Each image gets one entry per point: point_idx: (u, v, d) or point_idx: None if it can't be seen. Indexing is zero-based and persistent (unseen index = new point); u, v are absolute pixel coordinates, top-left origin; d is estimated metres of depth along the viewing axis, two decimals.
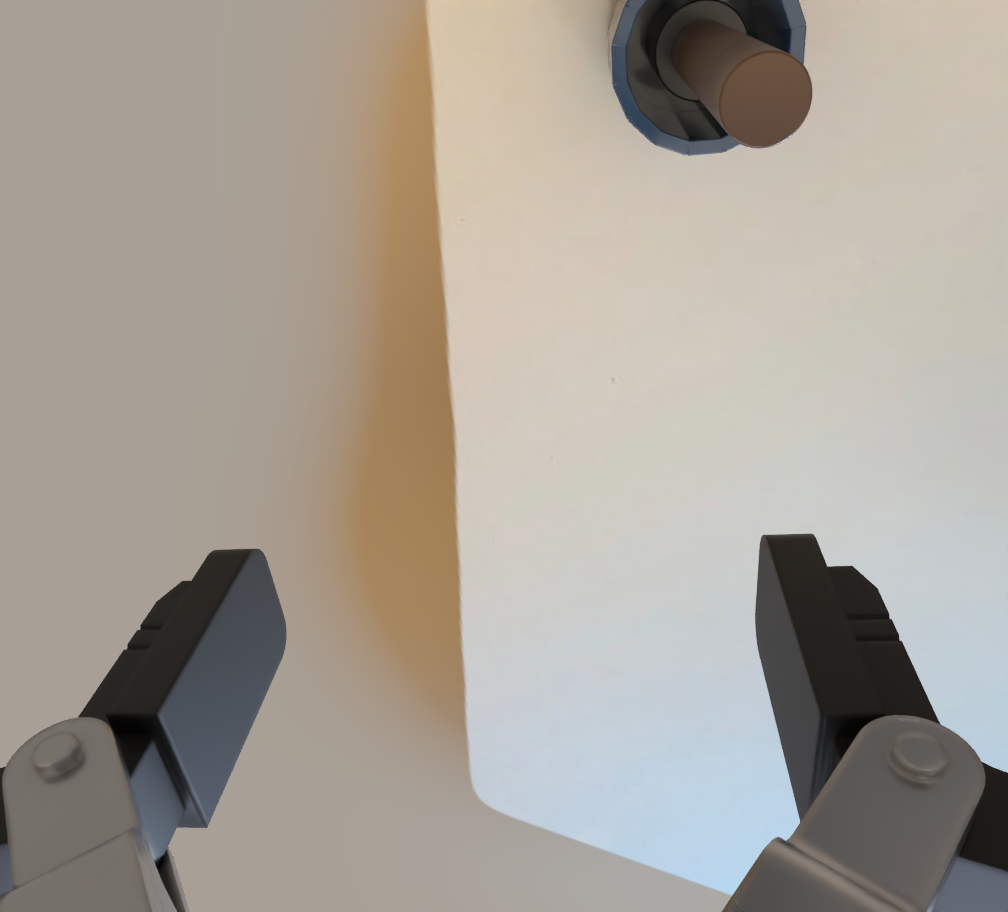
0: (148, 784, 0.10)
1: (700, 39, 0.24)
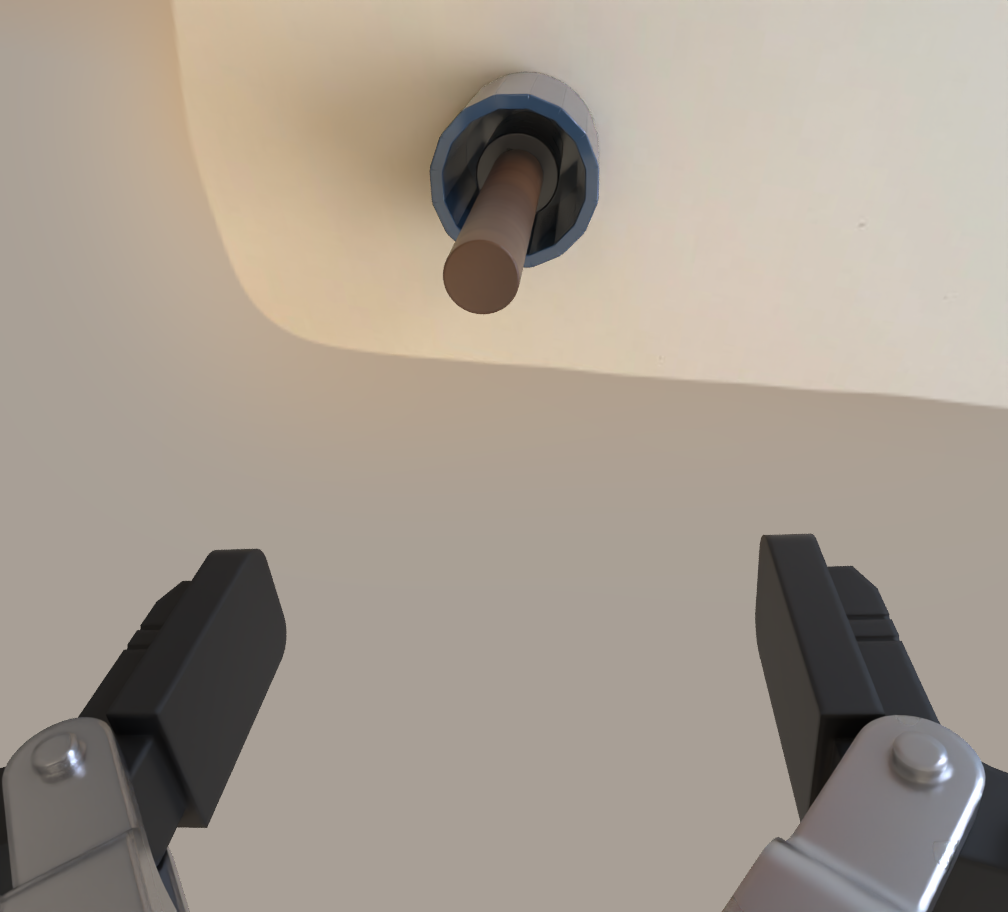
0: (148, 784, 0.10)
1: None
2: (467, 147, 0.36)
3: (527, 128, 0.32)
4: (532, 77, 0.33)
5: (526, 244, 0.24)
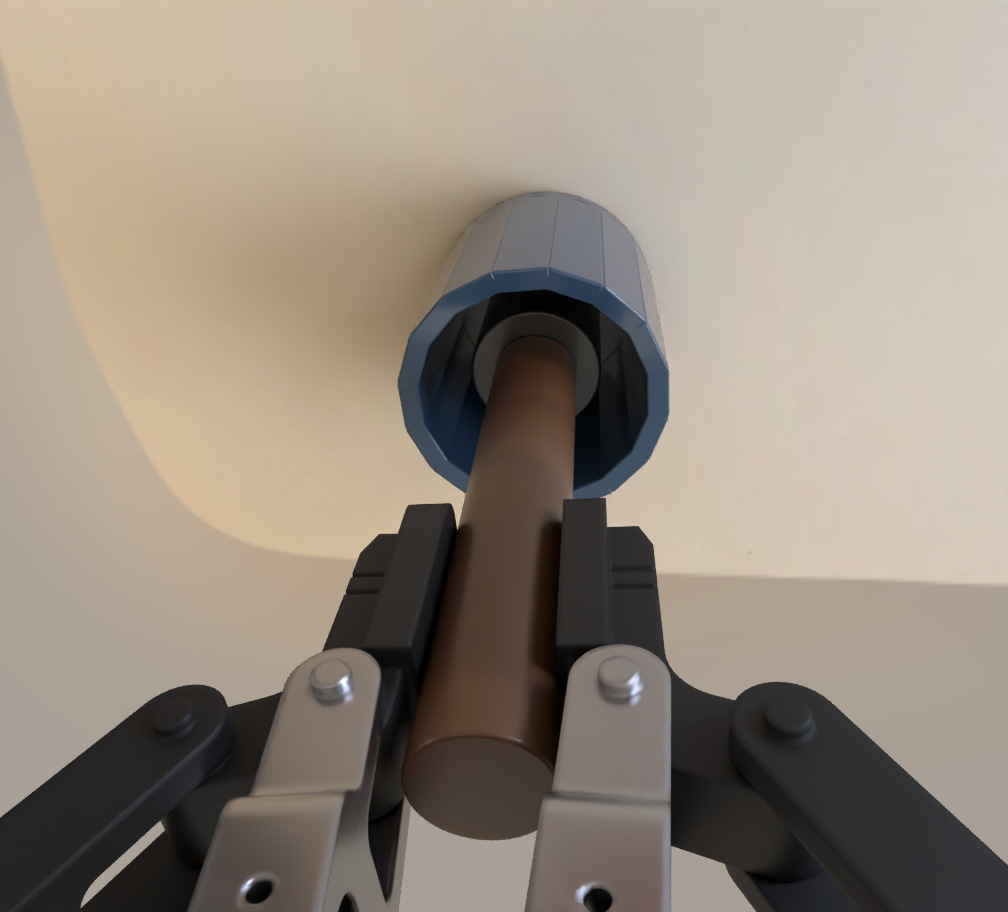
0: (401, 714, 0.11)
1: None
2: None
3: (547, 296, 0.20)
4: (549, 209, 0.22)
5: None
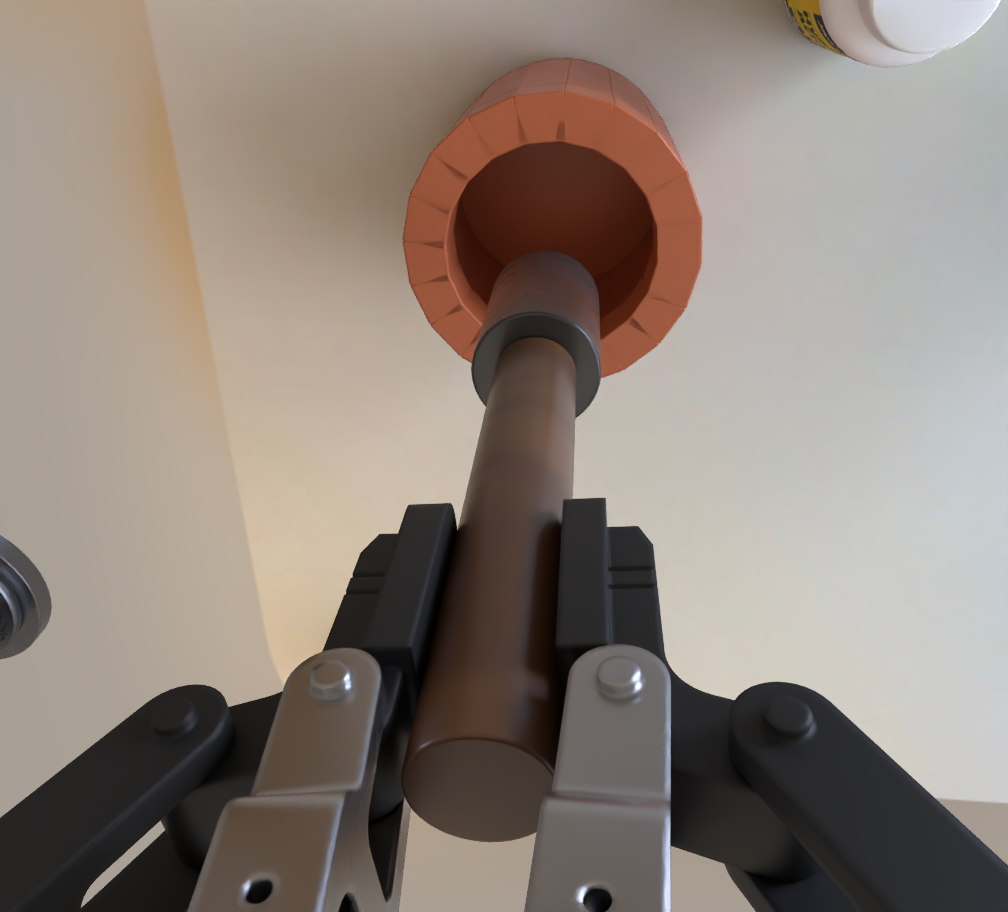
0: (401, 714, 0.11)
1: None
2: None
3: (547, 297, 0.20)
4: None
5: None
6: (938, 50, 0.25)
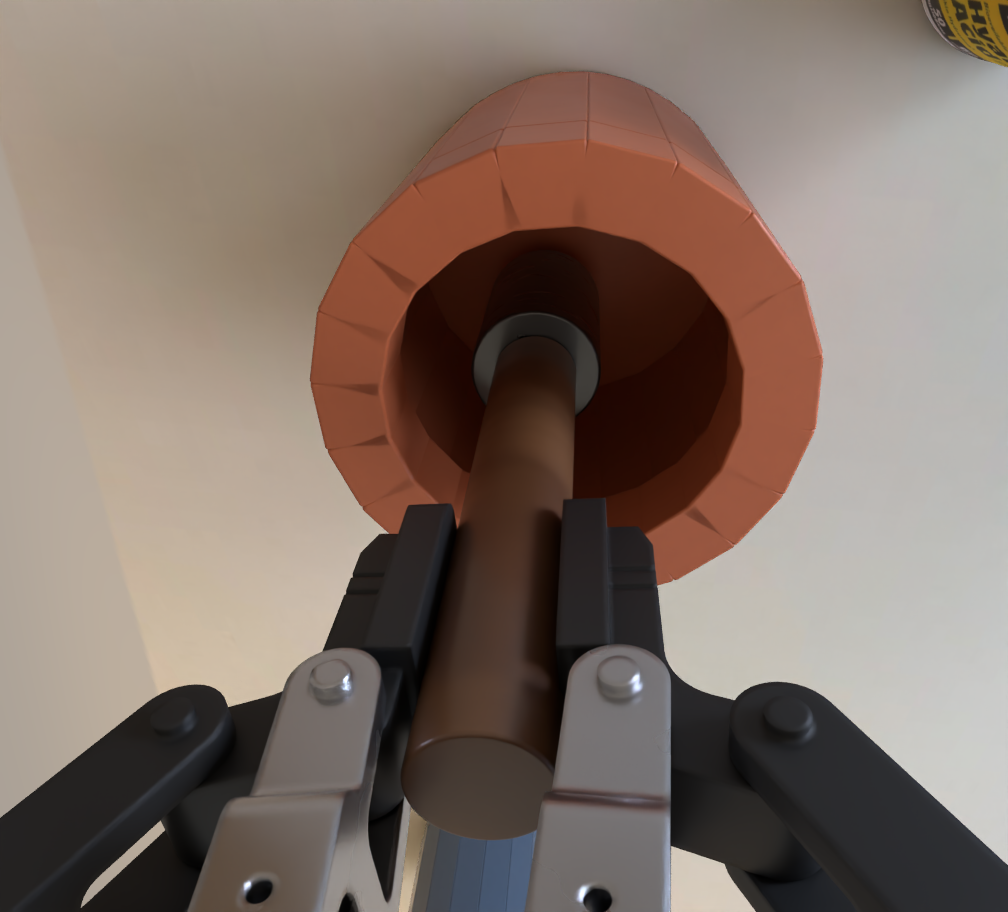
0: (401, 714, 0.11)
1: None
2: None
3: (546, 296, 0.20)
4: (482, 840, 0.39)
5: None
6: None
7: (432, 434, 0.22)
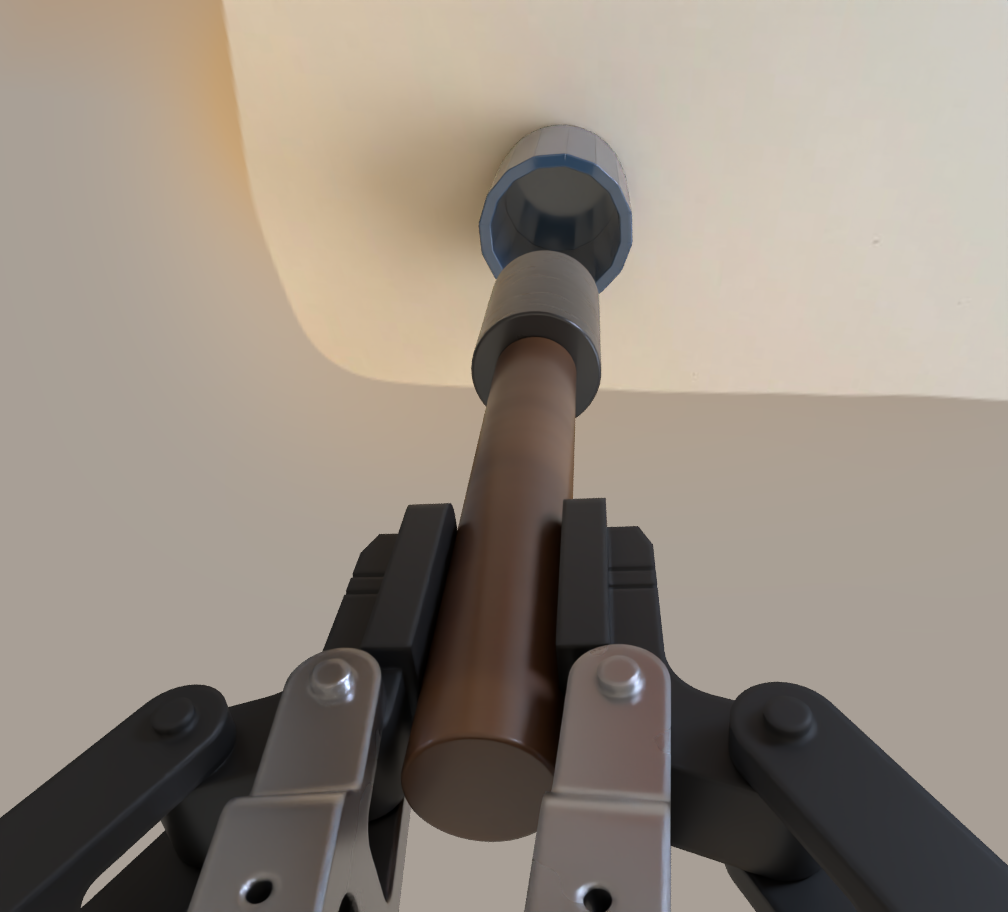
0: (401, 714, 0.11)
1: None
2: (506, 195, 0.39)
3: (547, 297, 0.20)
4: (564, 132, 0.36)
5: None
6: None
7: None
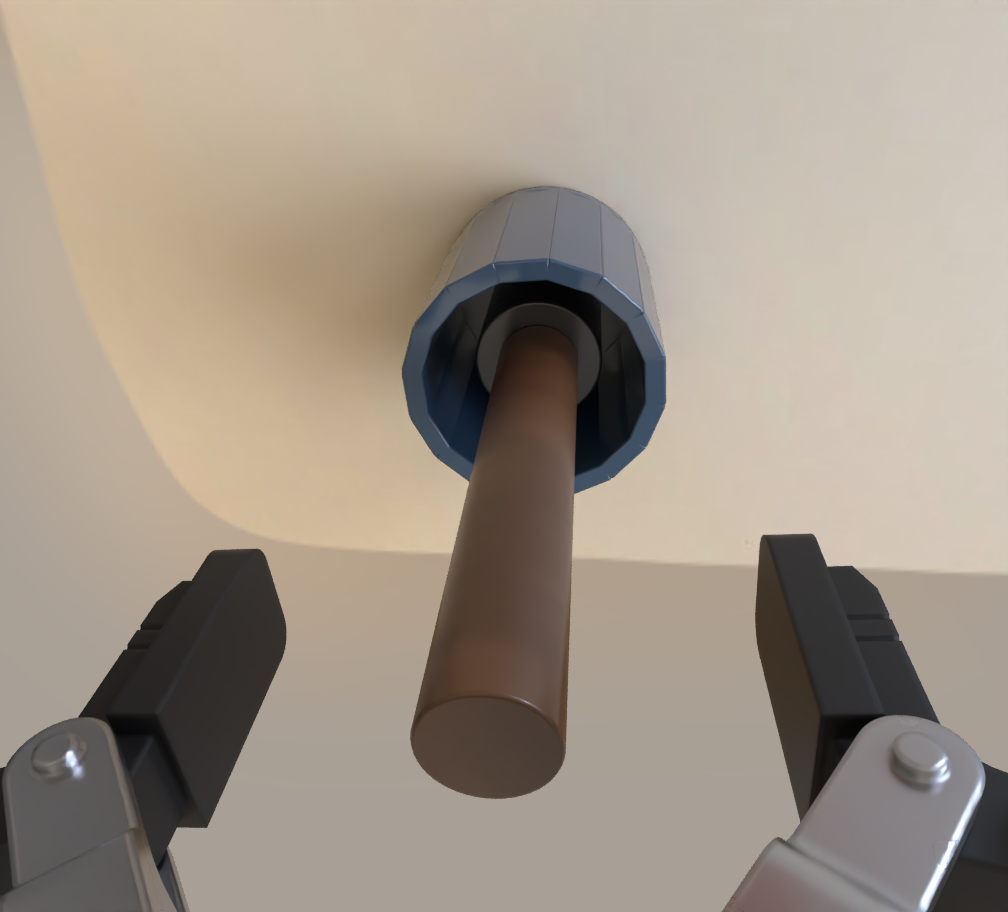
0: (148, 784, 0.10)
1: None
2: None
3: (549, 287, 0.21)
4: (549, 203, 0.22)
5: (569, 602, 0.13)
6: None
7: None
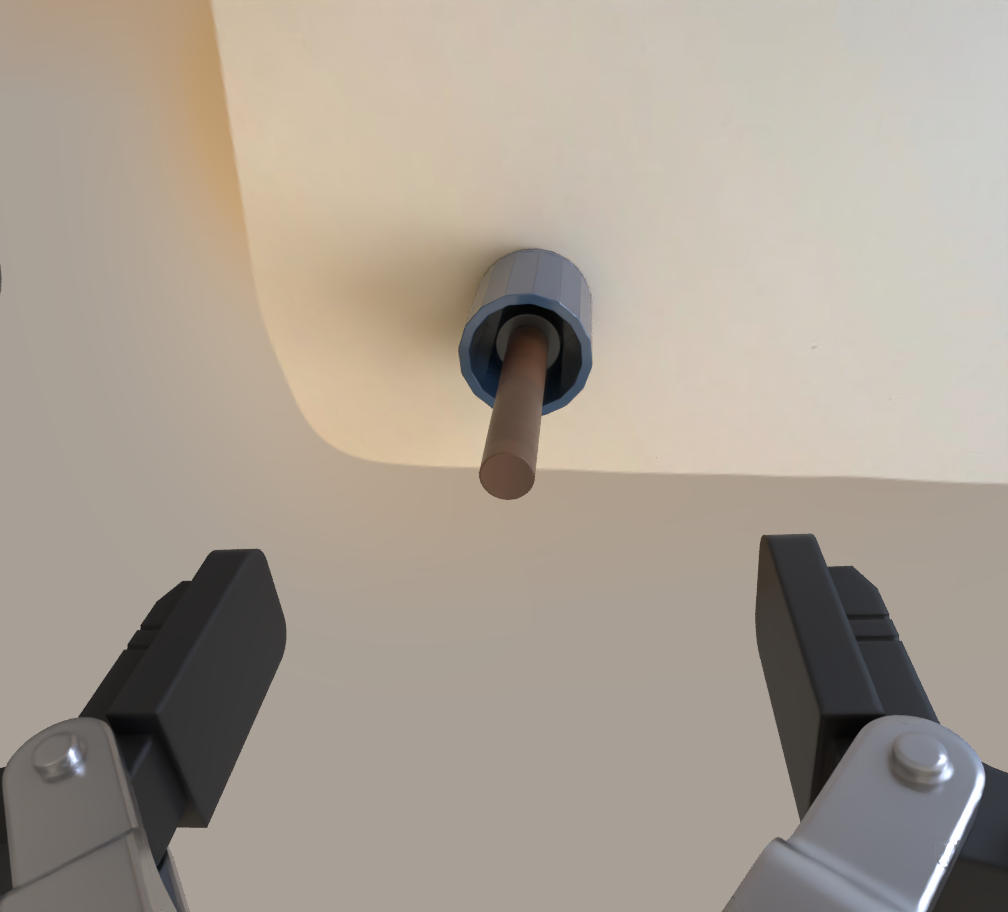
0: (148, 784, 0.10)
1: None
2: None
3: (533, 306, 0.40)
4: (534, 260, 0.41)
5: (538, 436, 0.32)
6: None
7: None
